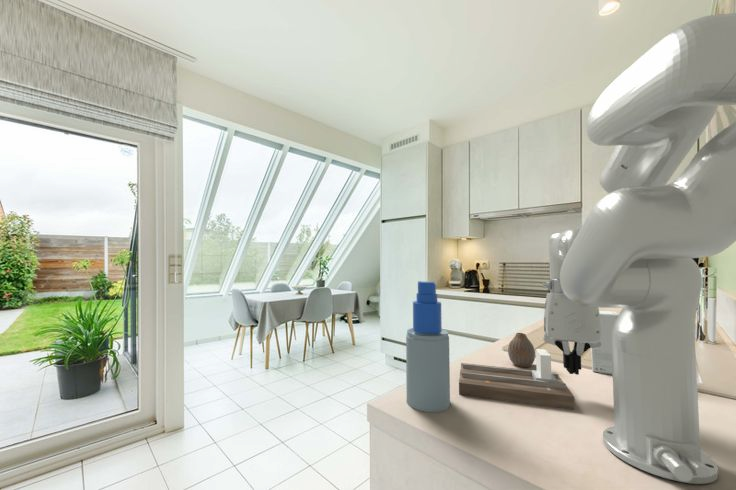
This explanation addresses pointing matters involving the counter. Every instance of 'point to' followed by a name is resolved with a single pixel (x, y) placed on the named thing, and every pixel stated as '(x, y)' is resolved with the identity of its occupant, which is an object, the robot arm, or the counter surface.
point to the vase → (521, 351)
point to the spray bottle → (427, 354)
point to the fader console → (513, 386)
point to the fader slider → (543, 367)
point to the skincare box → (604, 344)
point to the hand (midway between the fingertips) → (572, 371)
